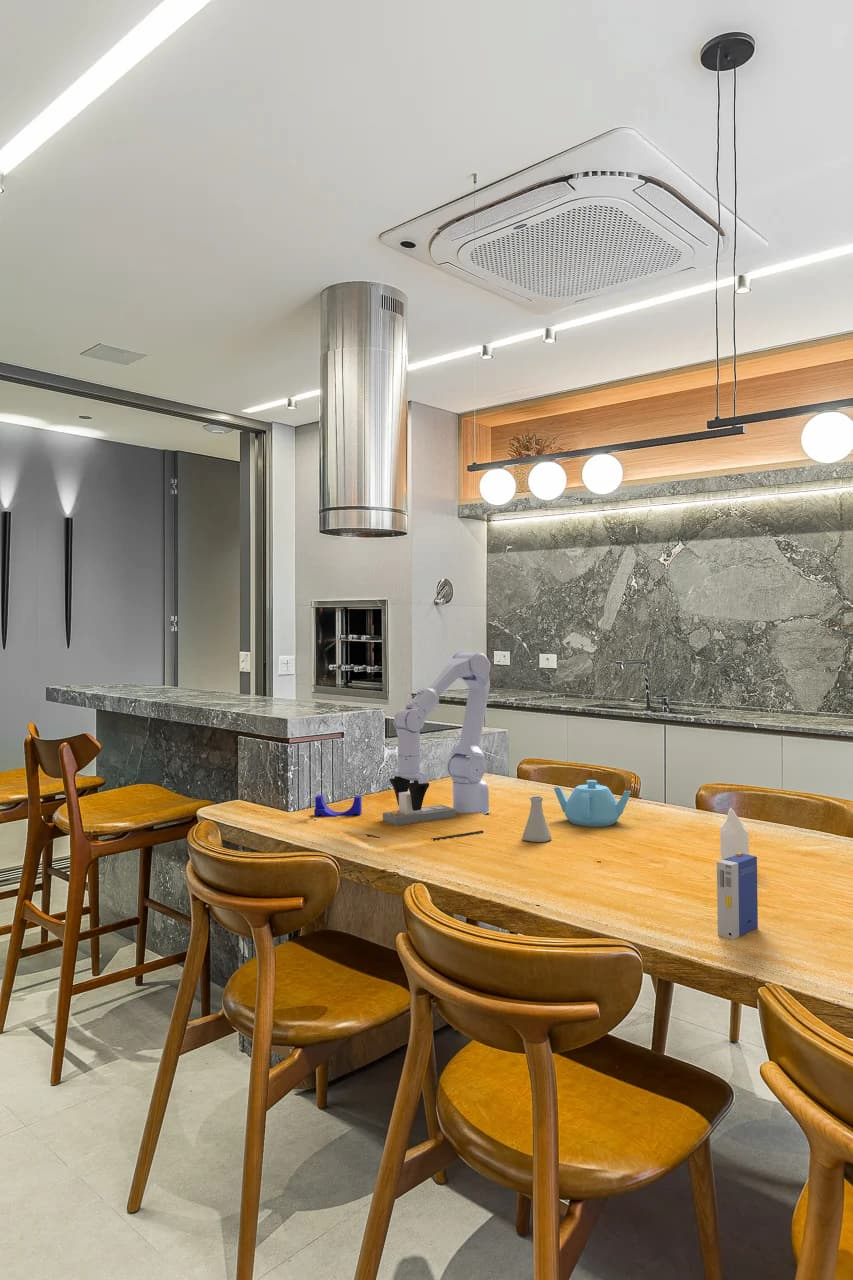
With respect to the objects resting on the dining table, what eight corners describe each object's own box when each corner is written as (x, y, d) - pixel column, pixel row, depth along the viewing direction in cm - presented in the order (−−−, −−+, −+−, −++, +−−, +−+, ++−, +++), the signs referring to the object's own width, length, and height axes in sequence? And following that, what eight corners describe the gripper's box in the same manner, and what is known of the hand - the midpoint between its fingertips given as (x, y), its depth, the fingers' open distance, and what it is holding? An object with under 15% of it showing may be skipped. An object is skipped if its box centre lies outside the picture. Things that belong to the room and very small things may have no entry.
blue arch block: (314, 821, 217) (314, 798, 217) (317, 817, 222) (317, 795, 222) (359, 821, 216) (358, 798, 216) (361, 817, 221) (361, 795, 221)
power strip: (441, 816, 221) (441, 803, 221) (455, 820, 215) (455, 807, 215) (382, 824, 211) (382, 811, 211) (395, 829, 205) (395, 815, 205)
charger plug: (412, 817, 214) (412, 791, 214) (420, 820, 211) (419, 793, 211) (399, 819, 212) (398, 792, 212) (406, 822, 209) (406, 795, 209)
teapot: (550, 818, 216) (550, 778, 216) (598, 813, 222) (597, 773, 222) (583, 830, 202) (583, 787, 202) (633, 824, 208) (633, 782, 208)
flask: (555, 837, 195) (555, 795, 195) (547, 844, 189) (546, 801, 189) (527, 834, 198) (526, 793, 198) (517, 841, 192) (516, 798, 192)
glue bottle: (753, 811, 165) (725, 811, 165) (754, 870, 165) (726, 870, 165) (742, 805, 171) (715, 805, 171) (743, 862, 171) (716, 862, 171)
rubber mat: (461, 825, 209) (461, 823, 209) (483, 833, 200) (483, 831, 200) (413, 832, 202) (413, 830, 202) (435, 840, 193) (434, 838, 193)
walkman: (742, 923, 135) (741, 851, 135) (758, 928, 132) (757, 854, 132) (716, 935, 129) (715, 859, 130) (732, 940, 127) (731, 863, 127)
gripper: (382, 753, 216) (382, 804, 216) (409, 759, 203) (410, 814, 203) (405, 751, 219) (405, 801, 219) (433, 757, 207) (434, 811, 207)
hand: (409, 807), depth 211 cm, fingers open, 7 cm apart
